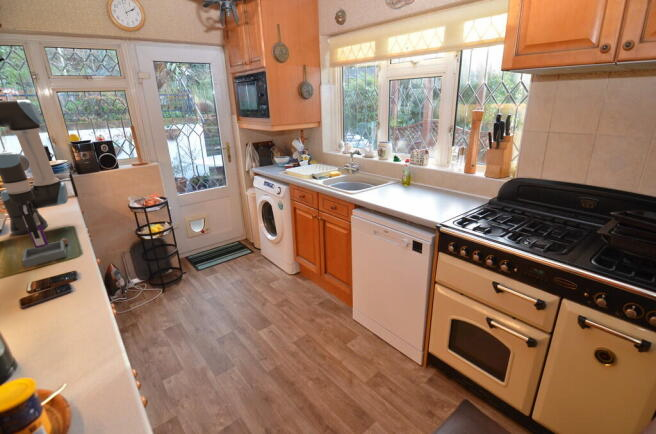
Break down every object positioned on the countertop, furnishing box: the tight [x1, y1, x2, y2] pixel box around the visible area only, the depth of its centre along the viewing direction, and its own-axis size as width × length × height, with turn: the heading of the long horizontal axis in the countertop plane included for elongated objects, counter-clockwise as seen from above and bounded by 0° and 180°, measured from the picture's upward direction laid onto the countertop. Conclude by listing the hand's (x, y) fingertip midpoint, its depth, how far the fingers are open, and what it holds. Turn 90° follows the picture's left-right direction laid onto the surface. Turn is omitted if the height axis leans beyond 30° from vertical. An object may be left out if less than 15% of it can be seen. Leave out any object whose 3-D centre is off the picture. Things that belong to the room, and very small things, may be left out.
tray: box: [21, 239, 67, 268], centre depth 146 cm, size 14×14×3 cm
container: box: [22, 213, 49, 249], centre depth 142 cm, size 5×5×15 cm
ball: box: [59, 237, 69, 246], centre depth 157 cm, size 3×3×3 cm
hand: (40, 242), depth 144 cm, fingers closed on container, 5 cm apart
